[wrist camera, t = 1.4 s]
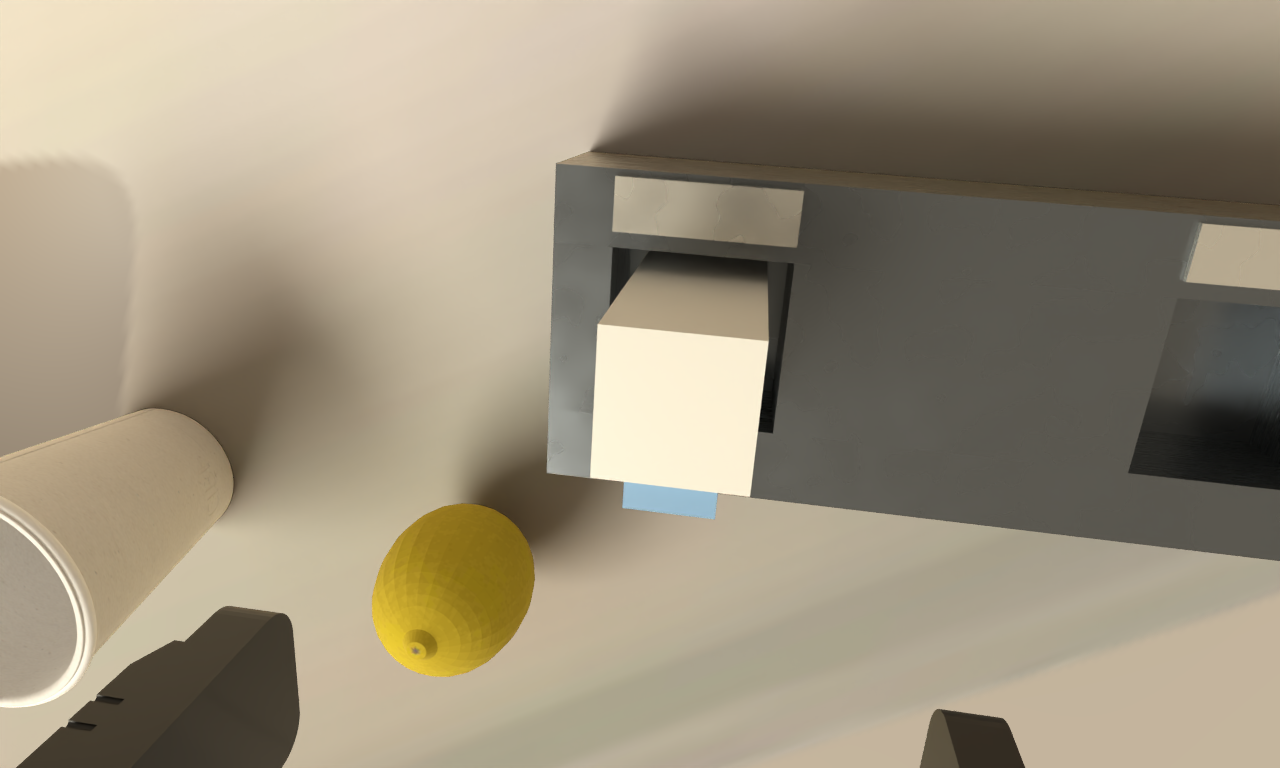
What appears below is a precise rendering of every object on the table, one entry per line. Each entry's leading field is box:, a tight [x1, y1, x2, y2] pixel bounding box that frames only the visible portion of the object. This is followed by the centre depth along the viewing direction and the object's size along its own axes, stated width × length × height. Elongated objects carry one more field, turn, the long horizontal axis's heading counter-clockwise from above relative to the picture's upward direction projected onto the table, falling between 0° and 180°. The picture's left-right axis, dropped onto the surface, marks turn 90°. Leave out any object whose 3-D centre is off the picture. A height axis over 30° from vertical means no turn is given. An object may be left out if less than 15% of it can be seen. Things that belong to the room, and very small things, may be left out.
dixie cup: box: [0, 408, 233, 707], centre depth 32 cm, size 8×8×10 cm
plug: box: [590, 251, 769, 519], centre depth 25 cm, size 5×4×10 cm
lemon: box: [372, 503, 535, 677], centre depth 31 cm, size 6×6×8 cm
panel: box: [547, 152, 1280, 561], centre depth 27 cm, size 10×25×5 cm, turn 86°
